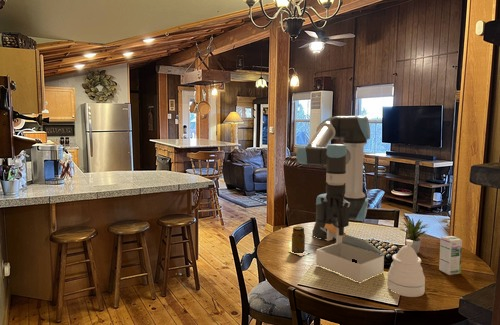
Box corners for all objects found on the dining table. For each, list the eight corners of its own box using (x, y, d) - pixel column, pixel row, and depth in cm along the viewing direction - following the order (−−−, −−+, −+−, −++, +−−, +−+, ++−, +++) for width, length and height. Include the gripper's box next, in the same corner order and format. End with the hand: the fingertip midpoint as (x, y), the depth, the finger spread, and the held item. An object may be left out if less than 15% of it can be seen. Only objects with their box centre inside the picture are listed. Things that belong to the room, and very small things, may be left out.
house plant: (425, 260, 166) (427, 224, 164) (393, 253, 174) (395, 219, 172) (432, 251, 177) (434, 217, 175) (402, 245, 186) (403, 213, 184)
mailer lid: (307, 222, 153) (308, 218, 154) (339, 243, 168) (340, 239, 168) (351, 235, 136) (353, 231, 136) (383, 257, 150) (385, 253, 151)
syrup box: (449, 275, 150) (451, 240, 148) (438, 269, 155) (440, 236, 154) (460, 273, 151) (463, 239, 149) (449, 268, 157) (451, 235, 155)
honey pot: (393, 278, 147) (395, 234, 145) (428, 287, 139) (431, 241, 137) (382, 289, 137) (383, 242, 135) (418, 300, 129) (421, 250, 127)
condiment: (298, 249, 181) (298, 225, 179) (311, 253, 174) (311, 228, 173) (287, 252, 176) (287, 227, 175) (300, 257, 170) (300, 231, 168)
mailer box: (316, 266, 159) (316, 249, 158) (340, 257, 169) (340, 241, 168) (359, 283, 142) (360, 265, 141) (383, 273, 152) (384, 255, 151)
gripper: (312, 181, 149) (311, 237, 152) (347, 187, 136) (346, 249, 139) (325, 179, 154) (324, 234, 157) (360, 185, 141) (358, 245, 143)
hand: (334, 241), depth 148 cm, fingers closed on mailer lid, 4 cm apart
